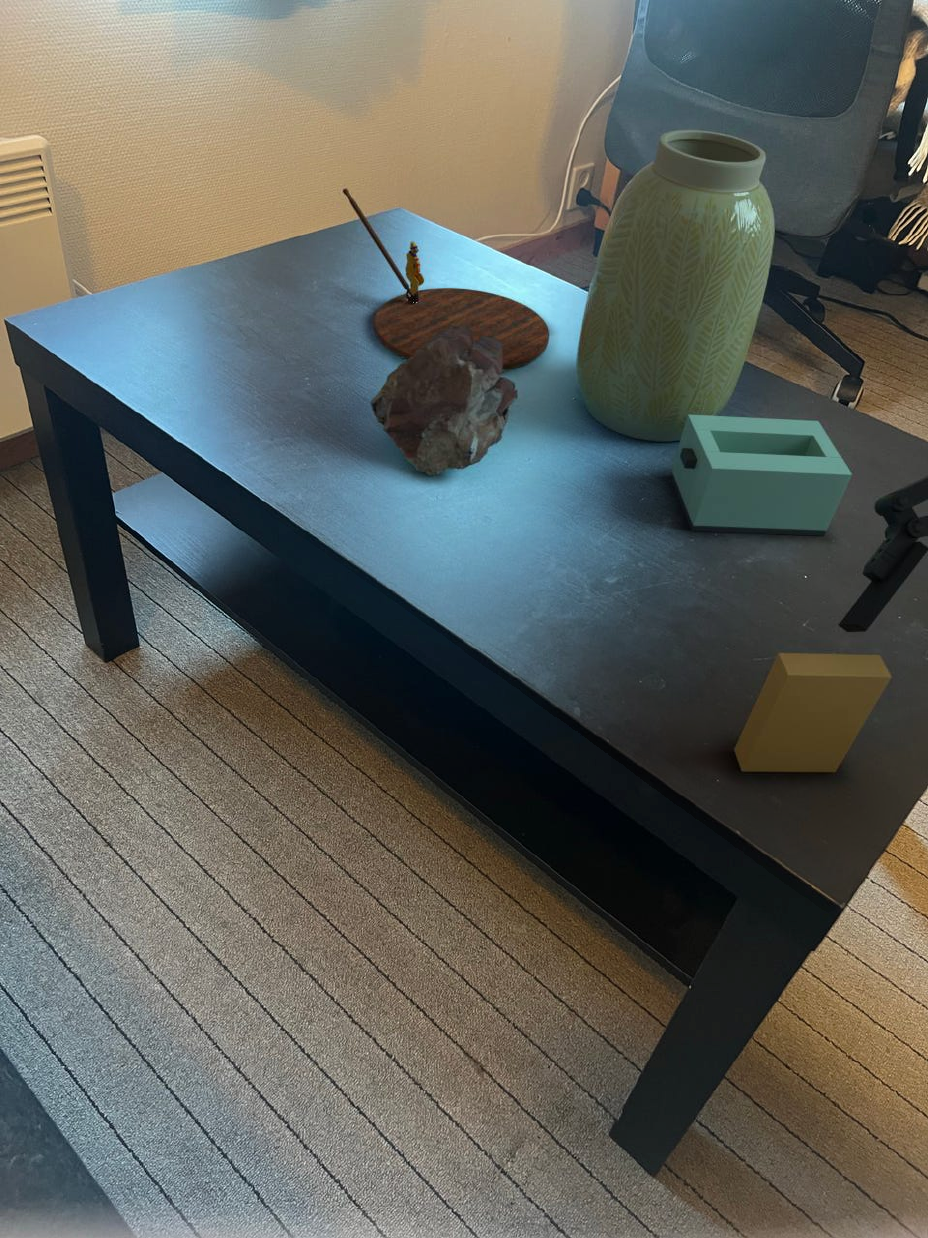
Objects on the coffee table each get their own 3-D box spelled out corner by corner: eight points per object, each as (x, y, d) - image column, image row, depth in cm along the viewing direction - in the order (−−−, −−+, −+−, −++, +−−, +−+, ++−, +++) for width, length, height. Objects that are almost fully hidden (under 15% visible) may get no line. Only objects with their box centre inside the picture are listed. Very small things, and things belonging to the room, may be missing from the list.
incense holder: (476, 394, 101) (488, 295, 93) (283, 301, 113) (279, 207, 105) (581, 335, 114) (598, 244, 106) (397, 257, 126) (401, 170, 118)
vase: (614, 356, 110) (669, 106, 92) (747, 409, 104) (835, 151, 86) (538, 410, 100) (583, 139, 81) (682, 473, 93) (766, 194, 75)
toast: (825, 750, 68) (880, 654, 61) (835, 772, 66) (892, 676, 60) (733, 749, 67) (778, 652, 60) (741, 771, 66) (788, 674, 59)
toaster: (794, 480, 94) (818, 420, 89) (824, 536, 88) (852, 474, 83) (660, 475, 93) (677, 413, 88) (680, 530, 86) (700, 467, 81)
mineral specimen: (385, 490, 95) (453, 390, 101) (488, 501, 87) (555, 393, 94) (330, 402, 86) (409, 300, 93) (439, 407, 79) (516, 295, 85)
